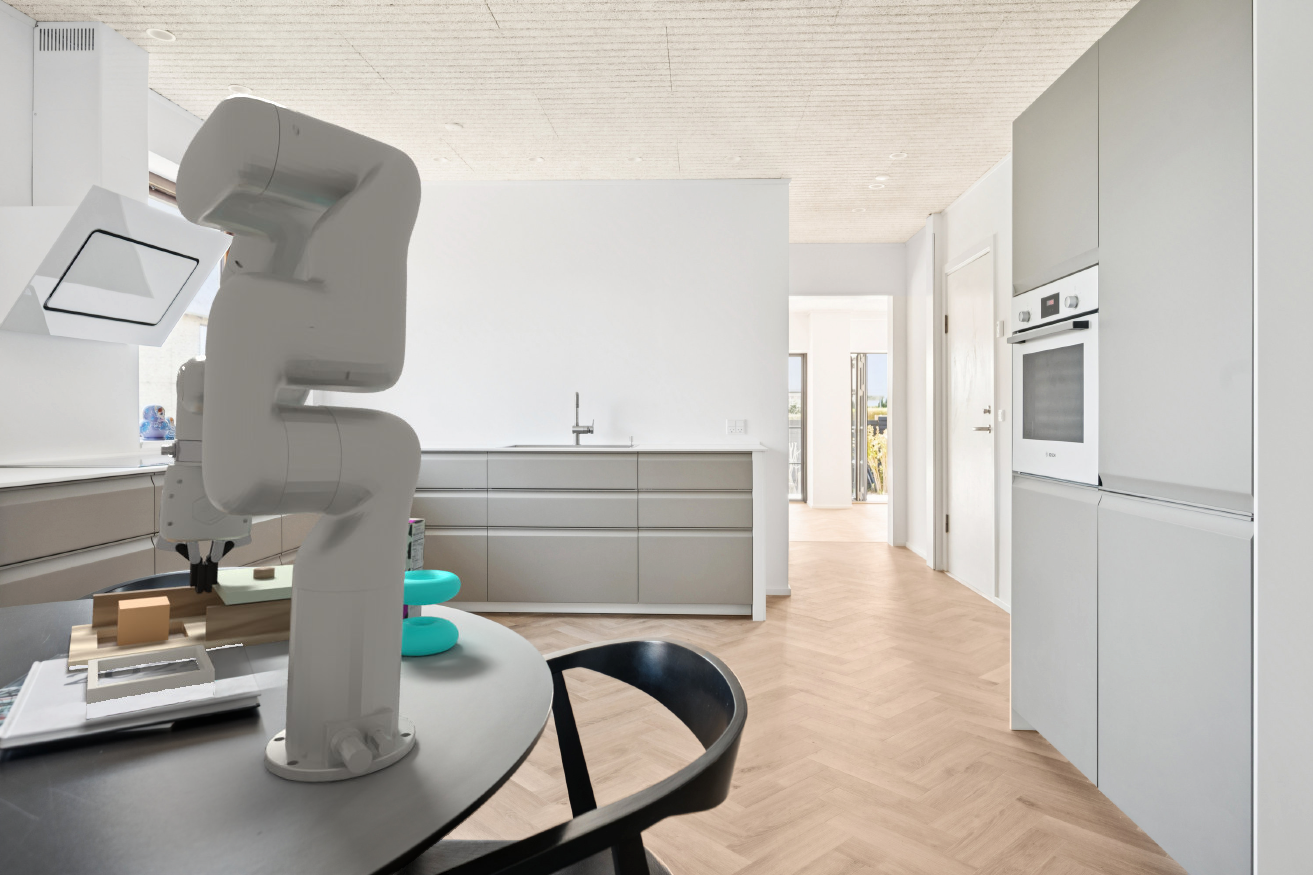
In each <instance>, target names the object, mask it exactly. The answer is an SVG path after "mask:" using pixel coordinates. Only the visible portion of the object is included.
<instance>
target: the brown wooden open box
mask: <svg viewBox="0 0 1313 875" xmlns="http://www.w3.org/2000/svg"><path fill="white" fill-rule="evenodd" d="M92 596H93V597H92V598H93V599H92V617H91V618H92V621H91V624H80V625H79V624H78V625H72V626H71V636H70V644H69V653H68V661H67V662H68V663H67V664H68V665H67V668H68V667H70V666H76V665H88V660H93V659H100V658H108V657H115V656H122V655H130V654H137V653H144V652H152V651H159V650H166V649H174V648H181V647H188V646H196V645H203V646H204V648H205V650H206V649H211V648H216V647H222V646H225V645H235V644H241V643H242V644H243V647H249V646H255V645H262V644H263V645H264V644H270V643H275V642H276V643H278V642H283V641H289V637H290V613H291V598H285V599H276V600H267V601H257V602H248V603H239V604H229V605H226V604H225V603H224V601H223V600H222V598H221V597H220V596H219V594H218V593H217V591H216V590H215V589H214V587H213V586H212V592H211V593H206V592H205V591H204V592H202V594H197V593H196V591H195V587H190V585H184V586H176V587H175V586H171V587H161V588H153V589H152V588H150V589H140V590H129V591H118V592H107V593H96V594H95V593H94V594H93V595H92ZM165 596H167V598H168V601H169V603H170V612H169V636H168V640H162V641H154V642H147V643H139V644H131V645H123V646H118V645H117V628H118V605H119V601H123V600H133V599H144V598H154V597H165Z"/></svg>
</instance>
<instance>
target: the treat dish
mask: <svg viewBox="0 0 1313 875" xmlns="http://www.w3.org/2000/svg"><path fill="white" fill-rule="evenodd" d="M190 658H196V661H197V663H198V666H199V668H198V669H196V670H188V671H181V672H177V673H171V674H163V675H162V674H161V675H158V676H157V675H156V676H150V677H149V676H148V677H143V678H139V679H131V680H125V681H118V682H113V683H112V682H111V683H105V684H99V675H98V672H100V671H107V670H112V669H116V668H124V667H130V666H136V665H141V664H149V663H156V662H161V661H176V660H182V659H190ZM211 660H212V659H211V658H210V657H209V654H208V651H207V652H206V650H205V648H204V646H203V645H196V646H188V647H181V648H174V649H166V650H159V651H152V652H144V653H137V654H130V655H122V656H115V657H108V658H100V659H93V660H88V669H87V680H88V681H87V685H86V686H87V687H86V692H87V693H86V705H87V704H91V703H96V702H101V701H106V700H110V699H118V698H122V697H127V696H135V695H141V694H145V693H150V692H158V691H162V690H165V689H175V688H180V687H186V686H192V685H200V684H204V683H211V682H214V683H215V680H216V679H215V678H216V676H215V674H216V669H215V667H214V664H213V663H212V661H211ZM196 661H195V662H196ZM198 666H197V667H198ZM199 669H200V670H199Z"/></svg>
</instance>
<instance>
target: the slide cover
mask: <svg viewBox="0 0 1313 875" xmlns="http://www.w3.org/2000/svg"><path fill="white" fill-rule="evenodd" d="M292 571H293V564H284V565H271V566H259V567H257V566H256V567H246V568H233V569H220V570H219V569H218V581H217V585H212V586H213V587H214V589H215V590H216V591H217V593H218V594H219V596H220V597H221V598H222V600H223V601H224V603H225V604H226V605H229V604H239V603H248V602H257V601H267V600H276V599H285V598H291V589H292Z"/></svg>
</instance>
